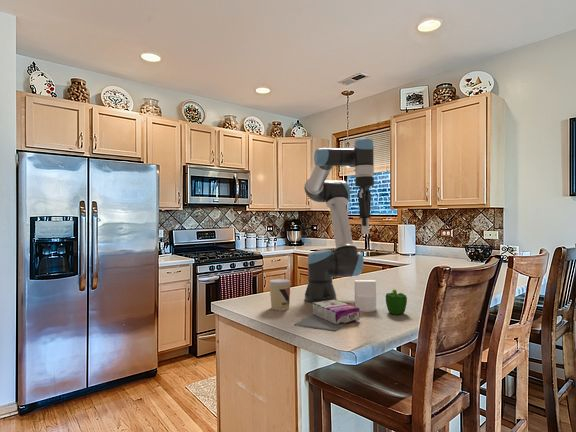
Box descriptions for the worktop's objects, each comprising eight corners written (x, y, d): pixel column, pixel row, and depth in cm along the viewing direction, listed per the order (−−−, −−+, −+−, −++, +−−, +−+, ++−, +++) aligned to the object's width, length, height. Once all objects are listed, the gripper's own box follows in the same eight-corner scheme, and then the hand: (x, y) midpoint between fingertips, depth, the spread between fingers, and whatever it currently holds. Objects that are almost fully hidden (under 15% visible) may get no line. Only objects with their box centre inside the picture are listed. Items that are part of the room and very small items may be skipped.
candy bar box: (360, 321, 132) (335, 310, 147) (360, 307, 132) (335, 298, 147) (335, 325, 127) (312, 314, 142) (335, 311, 127) (312, 302, 142)
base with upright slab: (356, 311, 147) (356, 282, 147) (353, 306, 156) (353, 279, 156) (378, 311, 147) (377, 282, 147) (374, 306, 156) (373, 278, 156)
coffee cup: (283, 312, 148) (283, 283, 148) (265, 309, 153) (265, 281, 153) (294, 307, 156) (294, 279, 156) (277, 304, 161) (277, 278, 161)
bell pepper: (394, 309, 149) (394, 285, 149) (411, 313, 142) (410, 289, 142) (380, 312, 145) (380, 288, 145) (396, 317, 138) (396, 291, 138)
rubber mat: (294, 325, 130) (294, 324, 130) (312, 313, 145) (312, 312, 145) (335, 331, 122) (335, 329, 122) (350, 318, 137) (350, 317, 137)
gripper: (359, 178, 153) (360, 233, 153) (350, 175, 141) (351, 234, 141) (377, 177, 149) (378, 233, 149) (369, 174, 138) (370, 234, 138)
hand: (365, 233), depth 145 cm, fingers closed
